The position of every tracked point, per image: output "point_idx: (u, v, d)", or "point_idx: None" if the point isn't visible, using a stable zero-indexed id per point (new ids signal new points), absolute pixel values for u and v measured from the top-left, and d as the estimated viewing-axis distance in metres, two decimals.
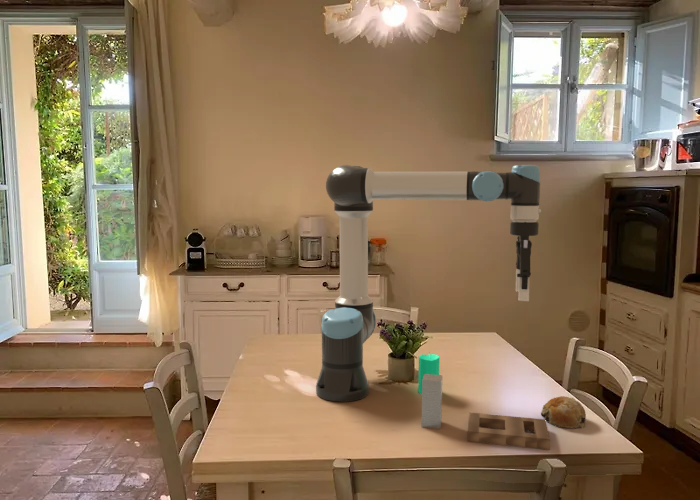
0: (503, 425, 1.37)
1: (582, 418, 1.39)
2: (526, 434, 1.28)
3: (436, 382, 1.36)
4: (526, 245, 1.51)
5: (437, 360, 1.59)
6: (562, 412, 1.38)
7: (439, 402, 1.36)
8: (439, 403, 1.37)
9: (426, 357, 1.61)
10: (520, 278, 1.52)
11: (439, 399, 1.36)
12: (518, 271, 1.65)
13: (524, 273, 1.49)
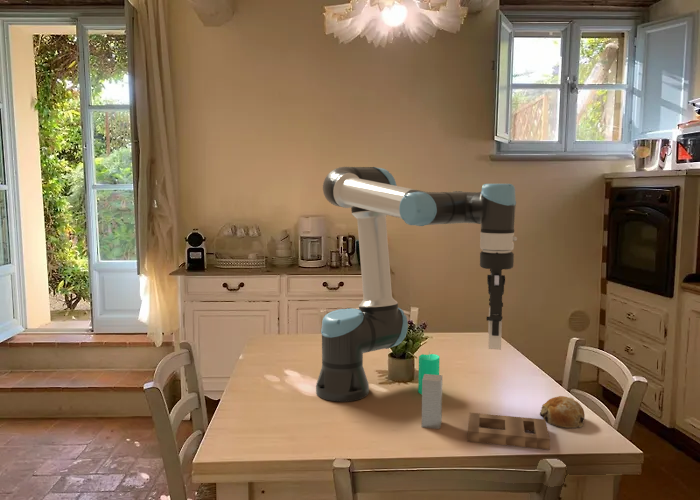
0: (503, 425, 1.37)
1: (581, 418, 1.39)
2: (526, 434, 1.28)
3: (436, 382, 1.36)
4: (497, 282, 1.24)
5: (437, 360, 1.59)
6: (561, 412, 1.38)
7: (439, 402, 1.36)
8: (439, 403, 1.37)
9: (426, 357, 1.61)
10: (490, 322, 1.25)
11: (439, 399, 1.36)
12: None
13: (494, 317, 1.21)
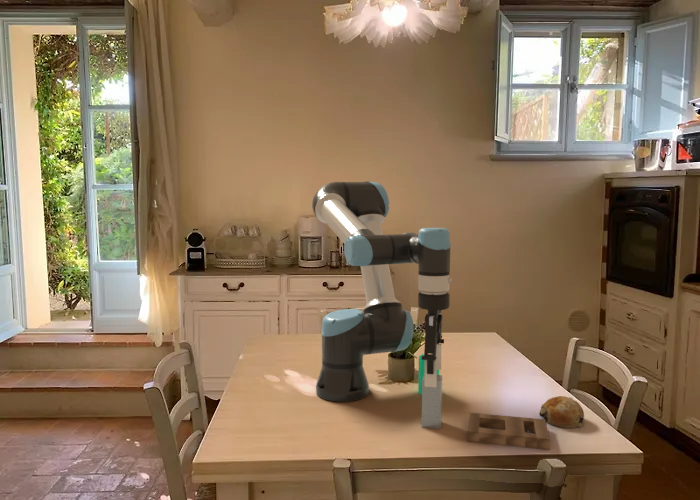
0: (503, 425, 1.37)
1: (580, 418, 1.39)
2: (526, 434, 1.28)
3: (436, 382, 1.36)
4: (432, 323, 1.30)
5: None
6: (561, 412, 1.38)
7: (439, 402, 1.36)
8: (439, 403, 1.37)
9: None
10: (426, 361, 1.31)
11: (439, 399, 1.36)
12: None
13: (428, 357, 1.28)
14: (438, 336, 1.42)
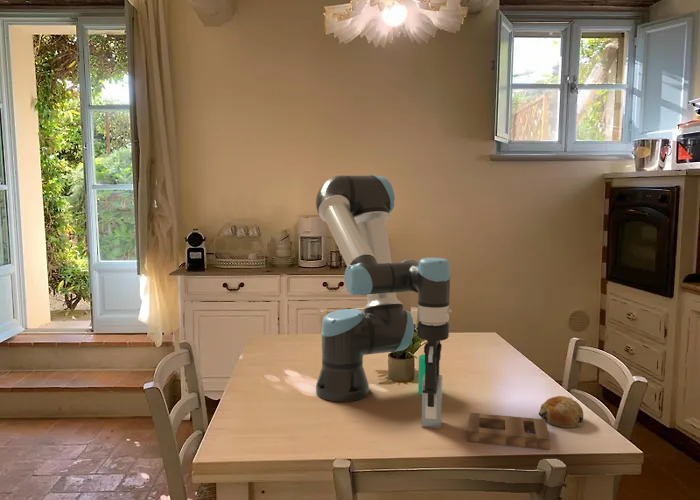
0: (503, 425, 1.37)
1: (580, 418, 1.39)
2: (526, 434, 1.28)
3: (436, 382, 1.36)
4: (431, 360, 1.32)
5: None
6: (560, 412, 1.38)
7: (439, 402, 1.36)
8: (439, 403, 1.37)
9: None
10: (426, 394, 1.36)
11: (439, 399, 1.36)
12: None
13: (428, 392, 1.33)
14: (436, 373, 1.41)
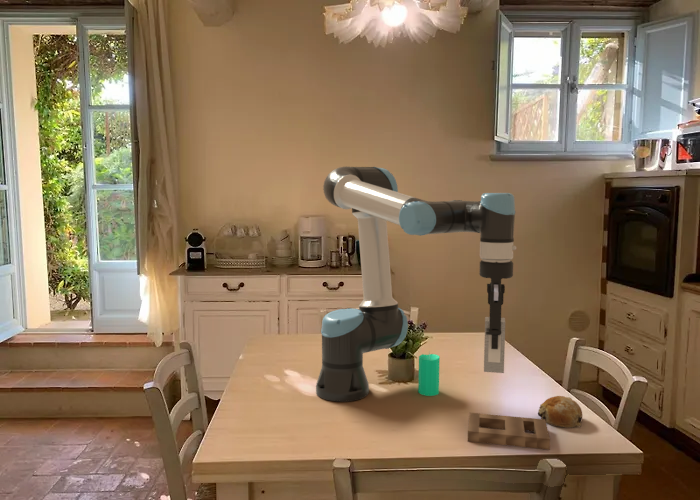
0: (503, 425, 1.37)
1: (579, 417, 1.39)
2: (526, 434, 1.28)
3: None
4: (497, 298, 1.25)
5: (437, 360, 1.59)
6: (559, 412, 1.38)
7: (503, 344, 1.29)
8: (503, 345, 1.29)
9: (426, 357, 1.61)
10: (490, 335, 1.29)
11: (503, 341, 1.29)
12: None
13: (493, 332, 1.26)
14: None
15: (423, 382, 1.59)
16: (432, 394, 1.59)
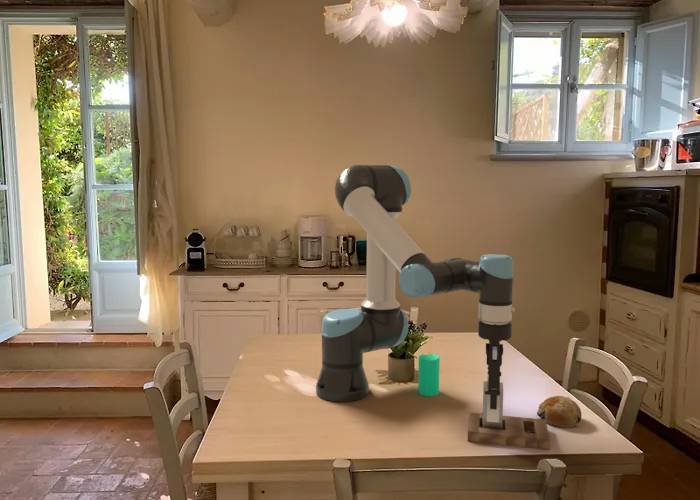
0: (503, 425, 1.37)
1: (578, 417, 1.39)
2: (526, 434, 1.28)
3: None
4: (495, 357, 1.26)
5: (437, 360, 1.59)
6: (558, 412, 1.38)
7: (501, 411, 1.31)
8: (501, 412, 1.31)
9: (426, 357, 1.61)
10: (488, 395, 1.28)
11: (501, 408, 1.31)
12: None
13: (492, 392, 1.24)
14: None
15: (423, 382, 1.59)
16: (432, 394, 1.59)
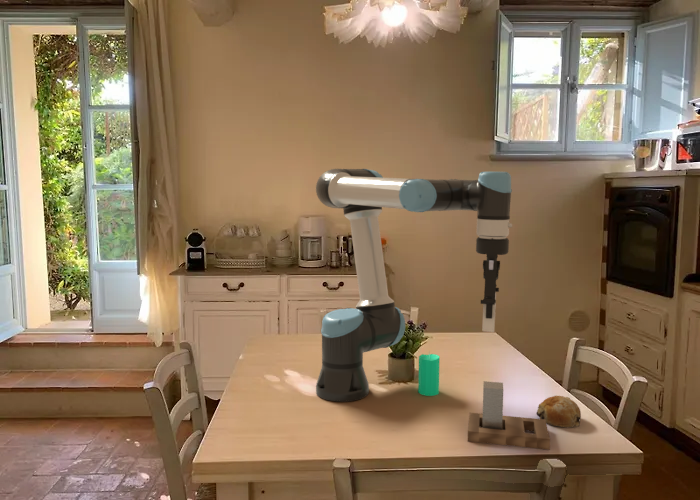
0: (503, 425, 1.37)
1: (577, 417, 1.40)
2: (526, 434, 1.28)
3: (498, 390, 1.31)
4: (492, 266, 1.28)
5: (437, 360, 1.59)
6: (558, 412, 1.38)
7: (501, 411, 1.31)
8: (501, 412, 1.31)
9: (426, 357, 1.61)
10: (484, 305, 1.29)
11: (501, 408, 1.31)
12: None
13: (488, 300, 1.26)
14: None
15: (423, 382, 1.59)
16: (432, 394, 1.59)
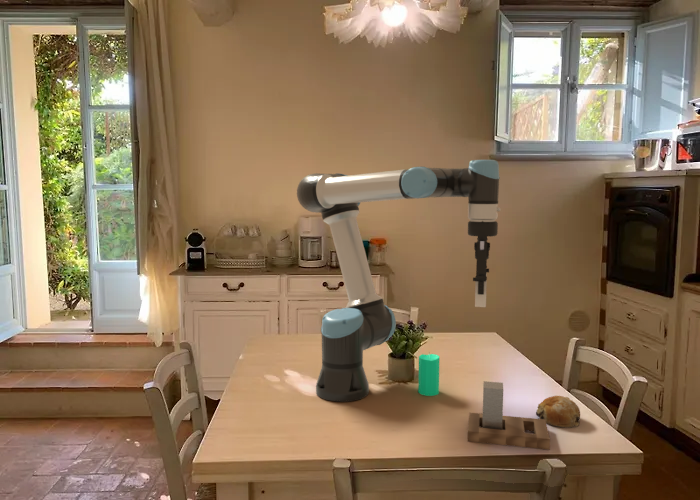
0: (503, 425, 1.37)
1: (577, 417, 1.40)
2: (526, 434, 1.28)
3: (498, 390, 1.31)
4: (482, 246, 1.39)
5: (437, 360, 1.59)
6: (557, 412, 1.38)
7: (501, 411, 1.31)
8: (501, 412, 1.31)
9: (426, 357, 1.61)
10: (476, 282, 1.40)
11: (501, 408, 1.31)
12: None
13: (479, 277, 1.37)
14: None
15: (423, 382, 1.59)
16: (432, 394, 1.59)
